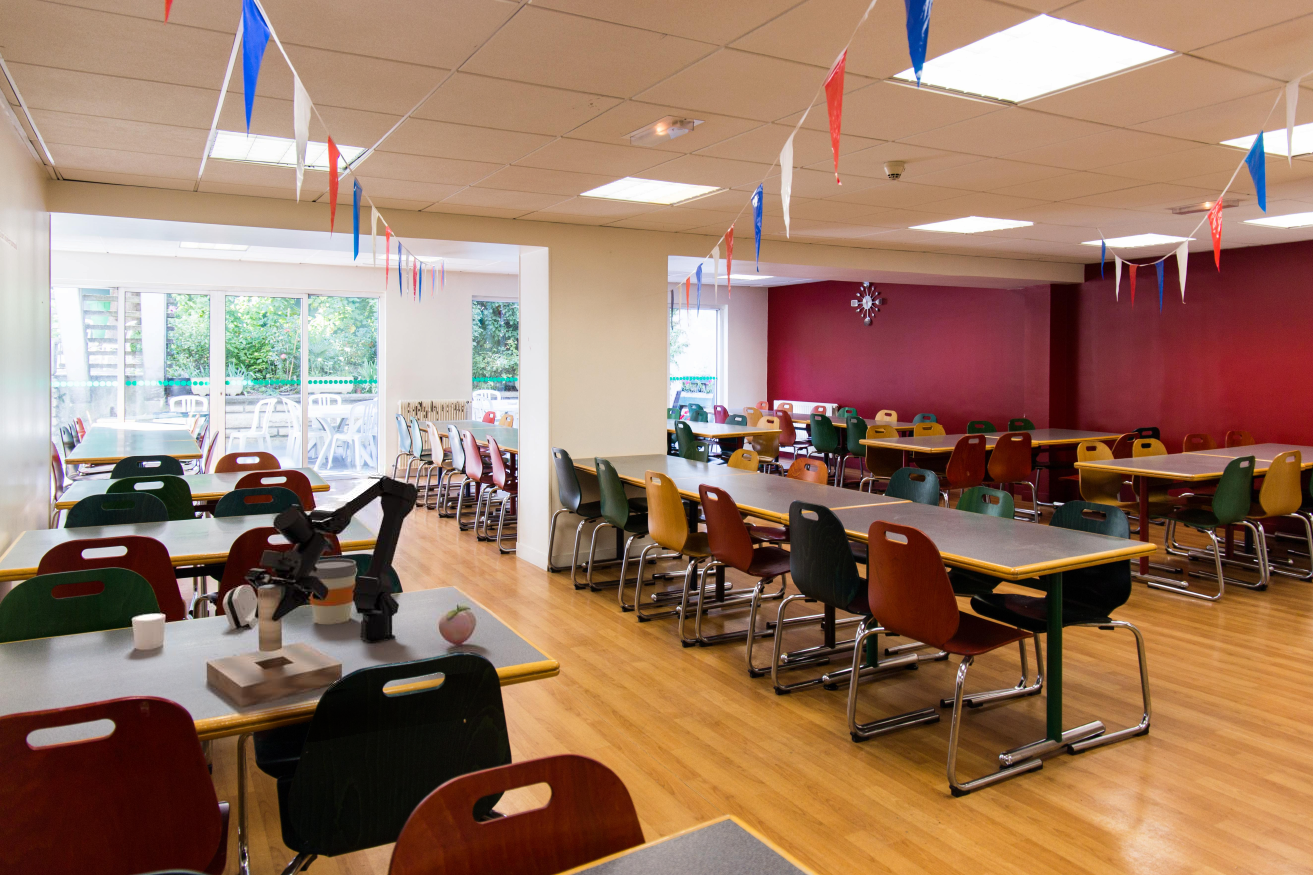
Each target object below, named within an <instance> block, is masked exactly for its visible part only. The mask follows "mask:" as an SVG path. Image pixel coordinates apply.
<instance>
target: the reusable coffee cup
mask: <svg viewBox="0 0 1313 875" xmlns="http://www.w3.org/2000/svg"><path fill="white" fill-rule="evenodd" d="M315 566H316V567H317V568H318V569H317V571H316V573H314V572H311V573H310V574H309V576H316V577H318V578H319V579H320V580H321V581H322V582H323V583H324V584H325V585H326V586H327V587H328V595H327V597H326V598H325V600H324V601H319V600H314V599H313V596H312V594H313V593H312V594H311V595H310V597H309V599H310V600H311V601H310V602H308V603H309V604H310V605H311V610H312V611H311V612H312V616H313V623H315V624H317V623H318V625H336V624H335V623H338V624H343V623H346V622H348V621H350V620H349V619H351V613H352V605H353V602H354V601H353V594H354V593H352V591H353V590H354V587H355V584H356V575H357V573H358V570H357V561H356V560H353V559H350V558H349V559H348V558H327V559H325V558H324V559H319V560H318V562H317V563H316V565H315ZM345 621H346V622H345ZM342 622H343V623H342Z"/></svg>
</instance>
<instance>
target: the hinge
mask: <svg viewBox="0 0 1313 875" xmlns="http://www.w3.org/2000/svg"><path fill="white" fill-rule="evenodd" d="M257 603H258V596H257V595H256V593H255V591H254V588H253V586H251V585H250V584H242V585H240V586H239V585H238V587H233V588H232V589H231V590H229V591H228V592H226V594H225V596H224V598H223V601H222V607H223V610H224V613H225V615H226V618H227V621H228V623H229V626H230V627H229V628H230V629H231V630H236V629H237V628H238V627H240V626H241V627H243V626H246V625H249V627H250V629H254V628H255V626H256V625H257V624H258V619H257V618H256V617H255V612H256V607H257Z"/></svg>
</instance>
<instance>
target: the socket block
mask: <svg viewBox="0 0 1313 875" xmlns="http://www.w3.org/2000/svg"><path fill="white" fill-rule="evenodd" d="M341 678H342V679H343V663H342V662H339V661H338V660H336V659H334V658H332V657H330V656H328V655H327V654H324V653H323V652H321V651H319V650H318V649H316V648H313V647H312V646H311V645H308V644H306V643H304V642H303V641H301V642H297V643H296V642H295V643H291V644H286V645H282V648H281V649H279V650H276V651H269V652H263V651H260V650H257V651H254V652H253V651H252V652H247V653H243V654H238V655H237V654H236V655H232V656H228V657H223V658H218V659H213V660H208V661H206V681H207V682H208V683H210V684H211V685H212V686H214V687H215V688H216V689H218V690H219V691H220V692H221V693H222V694H224V695H225V696H226V697H228V698H229V699H231V700H232V701H233V702H235V704H237V705H239V706H240V707H241V708H244V707H248V706H251V705H256V704H261V703H264V702H268V701H273V700H277V699H280V698H284V697H287V696H288V697H289V696H293V695H297V694H300V693H304V692H309V691H313V690H317V689H320V688H324V687H329V685H330V686H332V685H331V684H333V683H334V682H335V681H337V680H339V679H341Z"/></svg>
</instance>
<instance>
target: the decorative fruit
mask: <svg viewBox="0 0 1313 875" xmlns="http://www.w3.org/2000/svg"><path fill="white" fill-rule="evenodd" d="M470 610H471V608H470V606H466V605H460V606H459V604H457V605H456V607H455V608H451V609H448V610H447V611H446V612H444V613H443V614H442V616H441V617H440V618H439V621H438V630H439V634H440V635H441V637H442V638H443V639H444V640H445V641H446V642H448V643H450V644H451V645H455V646H457V645H459V646H460V645H462V644H463V643H465V642H467V641H468V639H470V638H471V636H472V635H473V633H474V630H475V629H476V625H477V619H476V616H475V615H474V613H473V612H472V611H470Z"/></svg>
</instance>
